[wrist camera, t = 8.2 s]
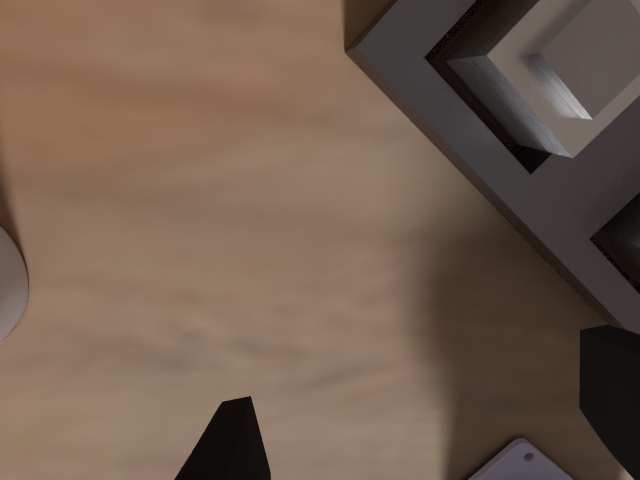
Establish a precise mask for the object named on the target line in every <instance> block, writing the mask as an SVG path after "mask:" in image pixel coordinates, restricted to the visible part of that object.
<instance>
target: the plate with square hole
mask: <svg viewBox="0 0 640 480" xmlns="http://www.w3.org/2000/svg"><path fill="white" fill-rule="evenodd" d="M475 1H476V0H390V1H389V2H388V3H387V5H386V6H385V7H384V8H383V9H382V10H381V11H380V13H379V14H378V15H377V16H376V17H375V18H374V19H373V21H372V22H371V23H370V24H369V25H368V26H367V27H366V28H365V30H364V31H363V32H362V33H361V34H360V35H359V36H358V38H357V39H356V40H355V41H354V42H353V43H352V44H351V46H350V47H349V48H348V49H347V50H346V51H345V53H346V54H347V55H348V56H349V57H350V58H351V59H352V61H353V62H354V63H355V64H356V65H357V66H358V67H359V68H360V69H361V70H362V71H363V72H364V73H365V74H366V75H367V76H368V77H369V78H370V79H371V80H372V81H373V82H374V83H375V84H376V85H377V86H378V87H379V88H380V89H381V90H382V91H383V92H384V93H385V95H386V96H387V97H388V98H389V99H390V100H391V101H392V102H393V103H394V104H395V105H396V106H397V107H398V108H399V109H400V110H401V111H402V112H403V113H404V114H405V115H406V116H407V117H408V118H409V119H410V120H411V121H412V122H413V123H414V124H415V125H416V126H417V127H418V129H419V130H420V131H421V132H422V133H423V134H424V135H425V136H426V137H427V138H428V139H429V140H430V141H431V142H432V143H433V144H434V145H435V146H436V147H437V148H438V149H439V150H440V151H441V152H442V153H443V154H444V155H445V156H446V157H447V158H448V159H449V160H450V161H451V163H452V164H453V165H454V166H455V167H456V168H457V169H458V170H459V171H460V172H461V173H462V174H463V175H464V176H465V177H466V178H467V179H468V180H469V181H470V182H471V183H472V184H473V185H474V186H475V187H476V188H477V189H478V190H479V191H480V192H481V193H482V194H483V195H484V196H485V198H486V199H487V200H488V201H489V202H490V203H491V204H492V205H493V206H494V207H495V208H496V209H497V210H498V211H499V212H500V213H501V214H502V215H503V216H504V217H505V218H506V219H507V220H508V221H509V222H510V223H511V224H512V225H513V226H514V227H515V228H516V229H517V230H518V232H519V233H520V234H521V235H522V236H523V237H524V238H525V239H526V240H527V241H528V242H529V243H530V244H531V245H532V246H533V247H534V248H535V249H536V250H537V251H538V252H539V253H540V254H541V255H542V256H543V257H544V258H545V259H546V260H547V261H548V262H549V263H550V264H551V266H552V267H553V268H554V269H555V270H556V271H557V272H558V273H559V274H560V275H561V276H562V277H563V278H564V279H565V280H566V281H567V282H568V283H569V284H570V285H571V286H572V287H573V288H574V289H575V290H576V291H577V292H578V293H579V294H580V295H581V296H582V297H583V298H584V300H585V301H586V302H587V303H588V304H589V305H590V306H591V307H592V308H593V309H594V310H595V311H596V312H597V313H598V314H599V315H600V316H601V317H602V318H603V319H604V320H605V321H606V322H607V323H608V324H609V325H611V326H614V327H618V328H621V329H625V330H628V331H631V332H634V333H637V334H640V285H639V286H638V287H637V288H636V289H634V288H633V287H632V286H631V284H630V283H629V282H628V281H627V280H626V279H625V278H624V277H623V276H622V275H621V274H620V272H619V271H618V270H617V269H616V268H615V267H614V266H613V265H612V264H611V263H610V261H609V260H608V259H607V258H606V257H605V256H604V255H603V254H602V253H601V252H600V250H599V249H598V248H597V247H596V246H595V245H594V244H593V243H592V242H591V241H590V239H589V238H591V237H592V236H593V235H594V234H595V233H596V232H597V231H598V230H599V229H600V228H601V227H603V226H604V225H605V224H606V223H607V222H608V221H609V220H610V219H611V218H612V217H613V216H614V215H616V214H617V213H618V212H619V211H620V210H621V209H622V208H623V207H624V206H625V205H626V204H628V203H629V202H630V201H631V200H632V199H633V198H634V197H635V196H636V195H637V194H638V193H639V192H640V95H639V96H638V97H637V98H636V99H635V100H634V101H633V102H632V103H631V104H630V105H629V106H628V107H627V108H626V109H624V110H623V111H622V112H621V113H620V114H619V115H618V116H617V117H616V118H615V119H614V120H613V121H612V122H611V123H610V124H609V125H608V126H607V127H606V128H604V129H603V130H602V131H601V132H600V133H599V134H598V135H597V136H596V137H595V138H594V139H593V140H592V141H591V142H590V143H589V144H588V145H587V146H586V147H584V148H583V149H582V150H581V151H580V152H579V153H578V154H577V155H576V156H575V157H574V158H570V157H566V156H562V155H559V154H555V153H551V152H547V151H543V150H539V149H535V148H531V147H527V146H523V145H519V144H517V145H516V146H515V147H514V148H513V149H512V150H511V151H510V152H509V151H508V150H507V148H506V147H505V146H504V145H503V144H502V143H501V142H500V141H499V140H498V139H497V137H496V136H495V135H494V134H493V133H492V132H491V131H490V130H489V129H488V128H487V126H486V125H485V124H484V123H483V122H482V121H481V120H480V119H479V118H478V117H477V116H476V114H475V113H474V112H473V111H472V110H471V109H470V108H469V107H468V106H467V105H466V103H465V102H464V101H463V100H462V99H461V98H460V97H459V96H458V95H457V94H456V92H455V91H454V90H453V89H452V88H451V87H450V86H449V85H448V84H447V83H446V82H445V80H444V79H443V78H442V77H441V76H440V75H439V74H438V73H437V72H436V71H435V69H434V68H433V67H432V66H431V65H430V64H429V63H428V62H427V61H426V60H425V58H424V57H425V56H426V55H427V53H428V52H429V51H430V50H431V49H432V48H433V47H434V46H435V45H436V44H437V43H438V41H439V40H440V39H441V38H442V37H443V36H444V35H445V34H446V33H447V32H448V31H449V30H450V28H451V27H452V26H453V25H454V24H455V23H456V22H457V21H458V20H459V19H460V18H461V16H462V15H463V14H464V13H465V12H466V11H467V10H468V9H469V8H470V7H471V6H472V4H473V3H474V2H475Z"/></svg>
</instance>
